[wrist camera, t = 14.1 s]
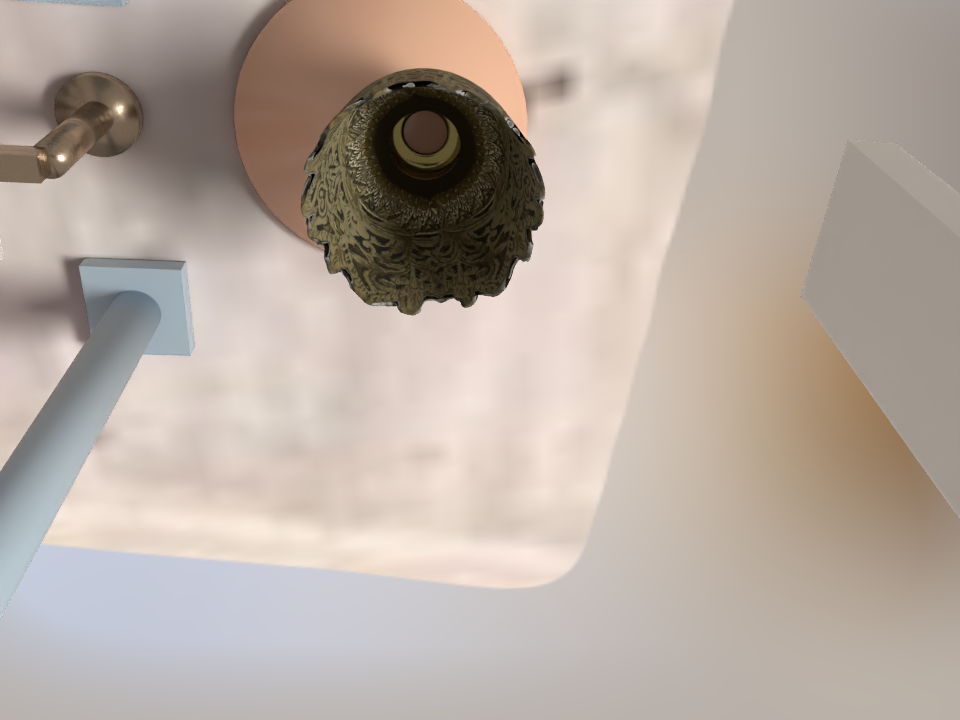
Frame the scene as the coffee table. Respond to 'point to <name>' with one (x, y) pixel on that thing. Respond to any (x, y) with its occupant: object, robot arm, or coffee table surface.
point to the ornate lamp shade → (423, 194)
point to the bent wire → (78, 129)
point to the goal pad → (353, 80)
